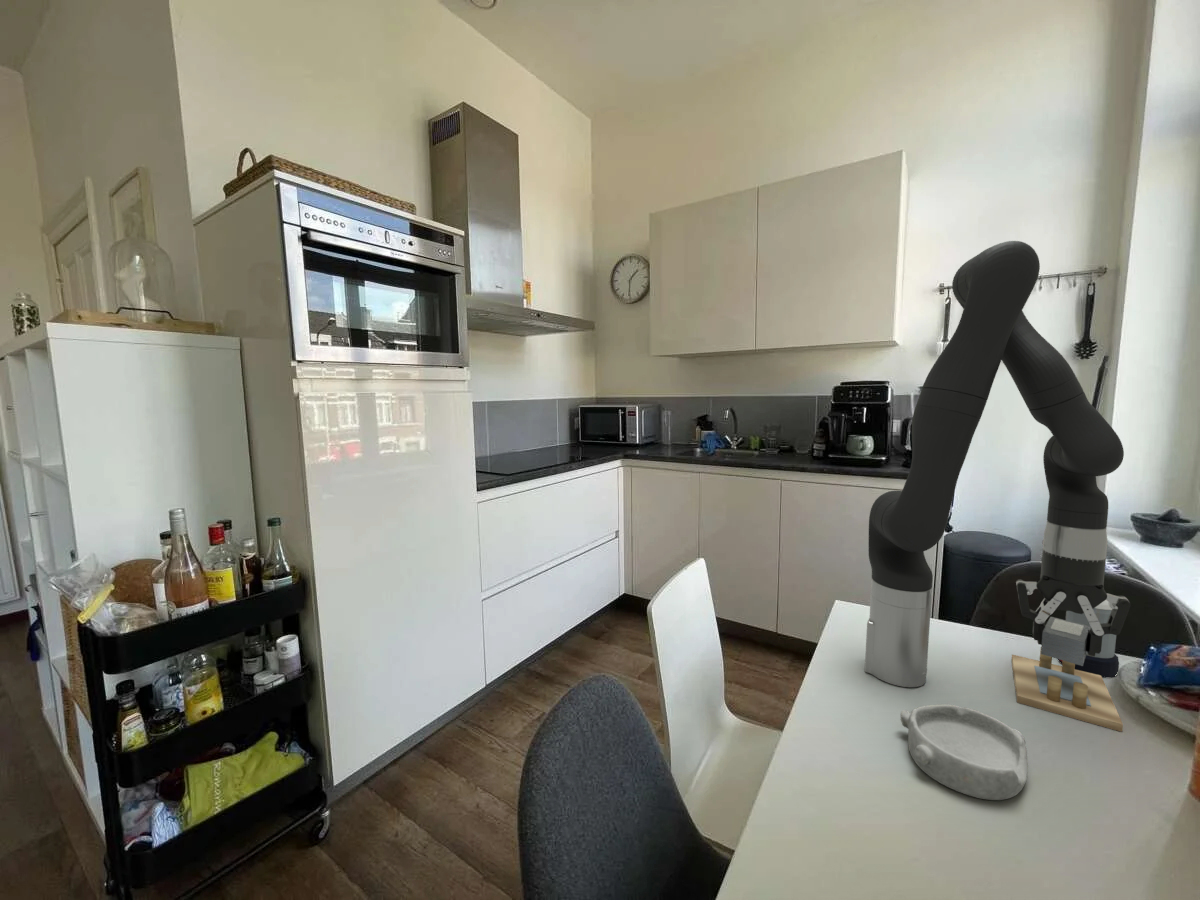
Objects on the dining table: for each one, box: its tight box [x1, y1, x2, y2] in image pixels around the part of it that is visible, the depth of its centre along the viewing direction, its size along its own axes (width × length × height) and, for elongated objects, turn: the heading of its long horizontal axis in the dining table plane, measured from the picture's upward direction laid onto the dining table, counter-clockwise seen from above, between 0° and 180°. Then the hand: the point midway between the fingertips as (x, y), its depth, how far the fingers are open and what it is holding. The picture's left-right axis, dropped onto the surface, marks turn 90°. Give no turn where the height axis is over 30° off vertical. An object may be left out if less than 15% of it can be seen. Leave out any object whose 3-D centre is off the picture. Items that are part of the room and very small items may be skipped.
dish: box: [900, 703, 1029, 801], centre depth 67 cm, size 14×14×5 cm
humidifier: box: [1057, 600, 1120, 678], centre depth 90 cm, size 8×8×25 cm
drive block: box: [1040, 616, 1090, 666], centre depth 82 cm, size 5×8×4 cm, turn 131°
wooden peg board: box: [1010, 649, 1124, 733], centre depth 83 cm, size 16×12×5 cm
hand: (1065, 648), depth 82 cm, fingers closed on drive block, 5 cm apart
